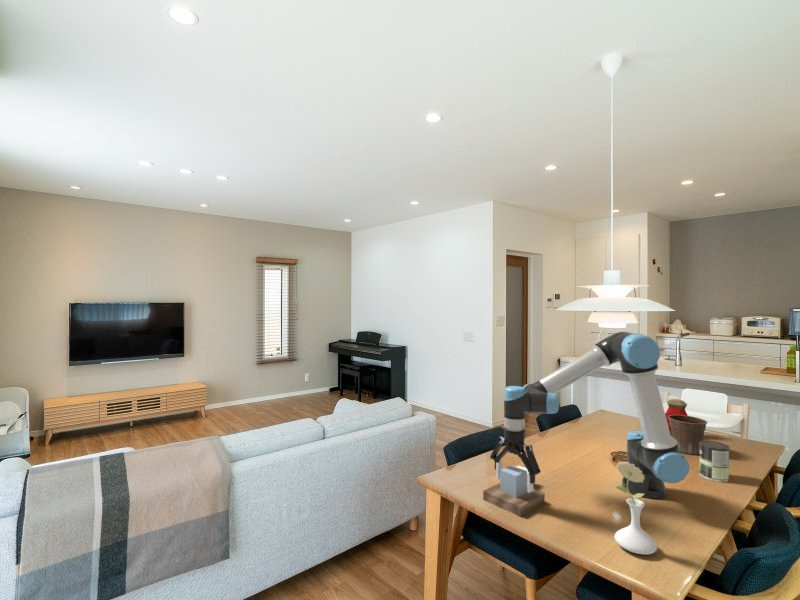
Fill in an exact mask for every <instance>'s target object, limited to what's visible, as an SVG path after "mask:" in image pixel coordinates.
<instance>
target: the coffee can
mask: <svg viewBox="0 0 800 600" xmlns="http://www.w3.org/2000/svg"><path fill="white" fill-rule="evenodd" d="M699 444H700V454H699V467H698V468H699V470H698V471H699V472H698V473H699V474H698V475H699V476H700V477H702V478H704V479H706V480H707V481H708V480H709V481H712V482H719V483H726V482H729V480H730V475H729V472H730V469H729V468H730V466H729V465H730V464H729V463H730V461H729V460H730V446H729V445H728V444H725V443H723V442H720V441H716V440H708V439H706V440H705V439H703V441H700V442H699Z"/></svg>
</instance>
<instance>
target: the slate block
mask: <svg viewBox="0 0 800 600" xmlns="http://www.w3.org/2000/svg"><path fill="white" fill-rule="evenodd" d="M499 483H500V491H501V492H503V493H505V494H508V495H510V496H512V497H514V498H517V497H519V496H521V495H523V494H525V493H527V471H525V470H523V469H520V468H517V466H514V465H509V466H506V467H504V468H502V469H501V470H500V479H499Z"/></svg>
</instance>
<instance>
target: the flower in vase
mask: <svg viewBox="0 0 800 600" xmlns="http://www.w3.org/2000/svg"><path fill="white" fill-rule="evenodd" d="M616 469H617V470H618V472H619V473H620V475H621V476H624V477H625V478H628V480H627V489H626V488H625V487H623V486H622V484H621V485H620V484H619V485H617V486H616V487H615V488H616V489H618V490H620V491H622V492H623V493H625V494H626V493H628V494H629V496H630V498H627V499H626V500H625V502H626V503H627V504H628V506H629V509H630V516H631V519H630V520H631V522H630V524H628V525H627V526H625V527H622V528H620V529H619V530H617V531H616V532H615V534H614V540H615V542H616V543H617V544H618V545H619V546H620V547H621V548H623V549H625V550H627V551H629V552H630V553H633V554H634V553H635V554H637V555H638V554H639V555H646V556H647V555H653V554H654V553H656V552H657V550H658V544H657V543H656V541H655V540H654V539H653V538H652V537H651V535H649V533H647V532H646V531H645V530H643V529H642V527H641V523H640V521H641V520H640V519H641V513H642V509H643V508H644V507H645V506H646V503H645V502H644V501H642V500H640V499H639V498H641V497H642V496H643V495H644V494H645V493H644V494H642V493H638V494H633V496H632V493H630V492H629V490H628V481H629V480H630V481H633V482H638V483H639V482H643V480H644V479H645V477H644V475H643V474H642V471H641V470H640V469H639V468H636V467H635V465H634V464H630V463H629V462H627V461H619V462H617V465H616ZM642 498H643V497H642Z"/></svg>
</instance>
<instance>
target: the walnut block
mask: <svg viewBox="0 0 800 600" xmlns="http://www.w3.org/2000/svg"><path fill="white" fill-rule="evenodd" d="M482 494H483V496H482V500H483V501H485V502H487V503H489V504H491V505H494V506H495V507H498V508H499V509H502V510H504V511H506V512H508V513H511V514H513V515H515V516H517V517H522V516H525V515H526V514H528V513H529V512H531V511H533V510H535V509H536V508H538V507H539V506H541V505H543V504H545V499H546V498H545V492H543V491H540V490H538V489H535V488H533V491H532V492H530V493H528V492H527V493H525V494H523V495H521V496H519V497H517V498H514V497H512V496H510V495H508V494H505V493H503V492H501V491H500V482H499V483H497V484H494V485H492V486H490V487H488V488H487V489H484V490H483V492H482Z"/></svg>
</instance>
